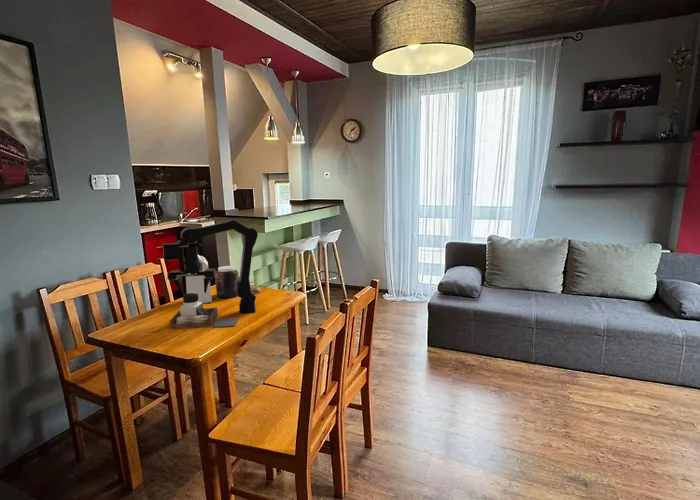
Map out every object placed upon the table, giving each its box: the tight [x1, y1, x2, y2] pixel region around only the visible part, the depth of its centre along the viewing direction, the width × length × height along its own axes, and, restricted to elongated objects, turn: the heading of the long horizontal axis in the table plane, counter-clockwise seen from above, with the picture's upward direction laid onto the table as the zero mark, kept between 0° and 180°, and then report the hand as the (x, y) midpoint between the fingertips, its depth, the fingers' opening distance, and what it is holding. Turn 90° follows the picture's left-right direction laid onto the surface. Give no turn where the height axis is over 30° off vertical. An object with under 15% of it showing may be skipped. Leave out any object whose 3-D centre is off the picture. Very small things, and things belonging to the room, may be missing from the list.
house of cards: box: [250, 279, 261, 295], centre depth 204 cm, size 9×9×8 cm
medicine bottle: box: [179, 292, 204, 317], centre depth 161 cm, size 7×7×12 cm
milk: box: [185, 254, 213, 304], centre depth 188 cm, size 12×12×26 cm
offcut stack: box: [176, 315, 209, 324], centre depth 156 cm, size 12×2×4 cm, turn 98°
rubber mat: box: [212, 317, 239, 329], centre depth 158 cm, size 9×9×1 cm
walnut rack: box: [169, 307, 219, 329], centre depth 160 cm, size 16×13×4 cm
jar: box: [214, 265, 240, 299], centre depth 198 cm, size 12×12×15 cm
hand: (194, 293), depth 160 cm, fingers open, 9 cm apart
